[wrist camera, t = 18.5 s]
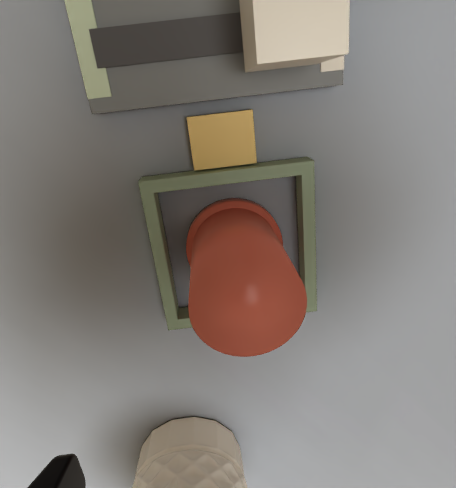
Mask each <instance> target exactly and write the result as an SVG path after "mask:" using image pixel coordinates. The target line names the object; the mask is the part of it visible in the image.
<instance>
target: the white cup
mask: <svg viewBox="0 0 456 488" xmlns="http://www.w3.org/2000/svg"><path fill="white" fill-rule="evenodd" d="M132 488H247V484H246V481H245V477H244V471H243V464H242V458H241V451H240V447H239V445H238V443H237V441H236V439H235V437H234V435H233V433H232V431H230V430H229V429H227V428H226V427H224V426H223V425H221V424H220V423H218V422H217V421H214V420H209V419H203V418H198V417H188V418H181V419H175V420H171V421H169V422H167V423H165V424H163V425H162V426H160V427H158V428H156V429H154V430H153V431H152V432H151V434H150V435H149V437H148V438H147V439H146V441H145V442H144V444H143V445H142V448H141V452H140V457H139V461H138V466H137V471H136V475H135V481H134V483H133V486H132Z"/></svg>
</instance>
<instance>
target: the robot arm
mask: <svg viewBox="0 0 456 488" xmlns="http://www.w3.org/2000/svg"><path fill="white" fill-rule="evenodd" d="M85 485H86V484H85V477H84V474H83V471H82V469H81V466H80V463H79V461H78V458H77V456H76V455H75V454H66V455H59V456H56V457H55V458H54V459H52V460H51V462H50V463H49V464H48V465H47V466H46V467H45V468H44V470H43V471H42V472H41V473H40V474H39V475H38V476H37V477H36V479H35V480H34V481H33V482H32V483H31V484H30V485H29V487H28V488H85Z"/></svg>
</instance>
